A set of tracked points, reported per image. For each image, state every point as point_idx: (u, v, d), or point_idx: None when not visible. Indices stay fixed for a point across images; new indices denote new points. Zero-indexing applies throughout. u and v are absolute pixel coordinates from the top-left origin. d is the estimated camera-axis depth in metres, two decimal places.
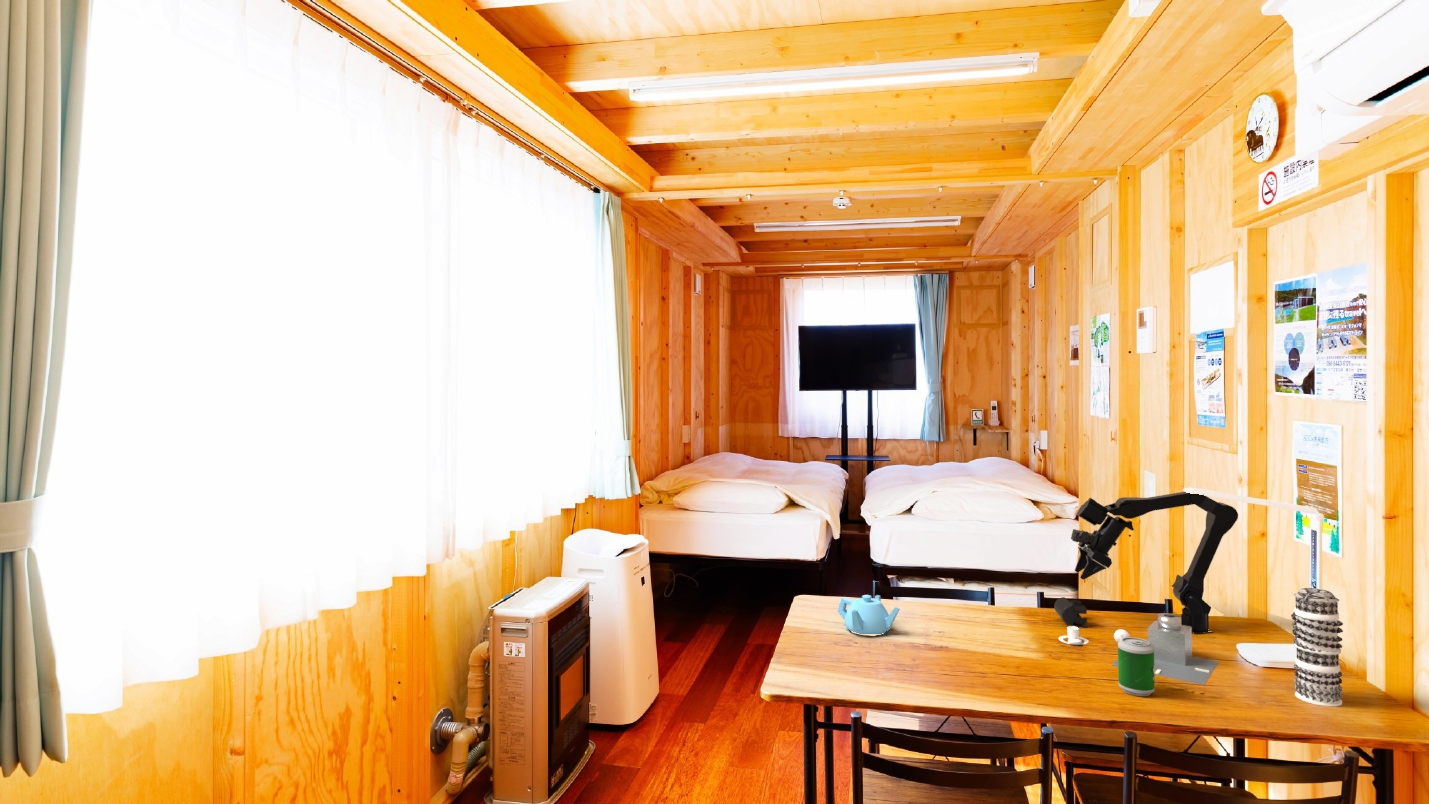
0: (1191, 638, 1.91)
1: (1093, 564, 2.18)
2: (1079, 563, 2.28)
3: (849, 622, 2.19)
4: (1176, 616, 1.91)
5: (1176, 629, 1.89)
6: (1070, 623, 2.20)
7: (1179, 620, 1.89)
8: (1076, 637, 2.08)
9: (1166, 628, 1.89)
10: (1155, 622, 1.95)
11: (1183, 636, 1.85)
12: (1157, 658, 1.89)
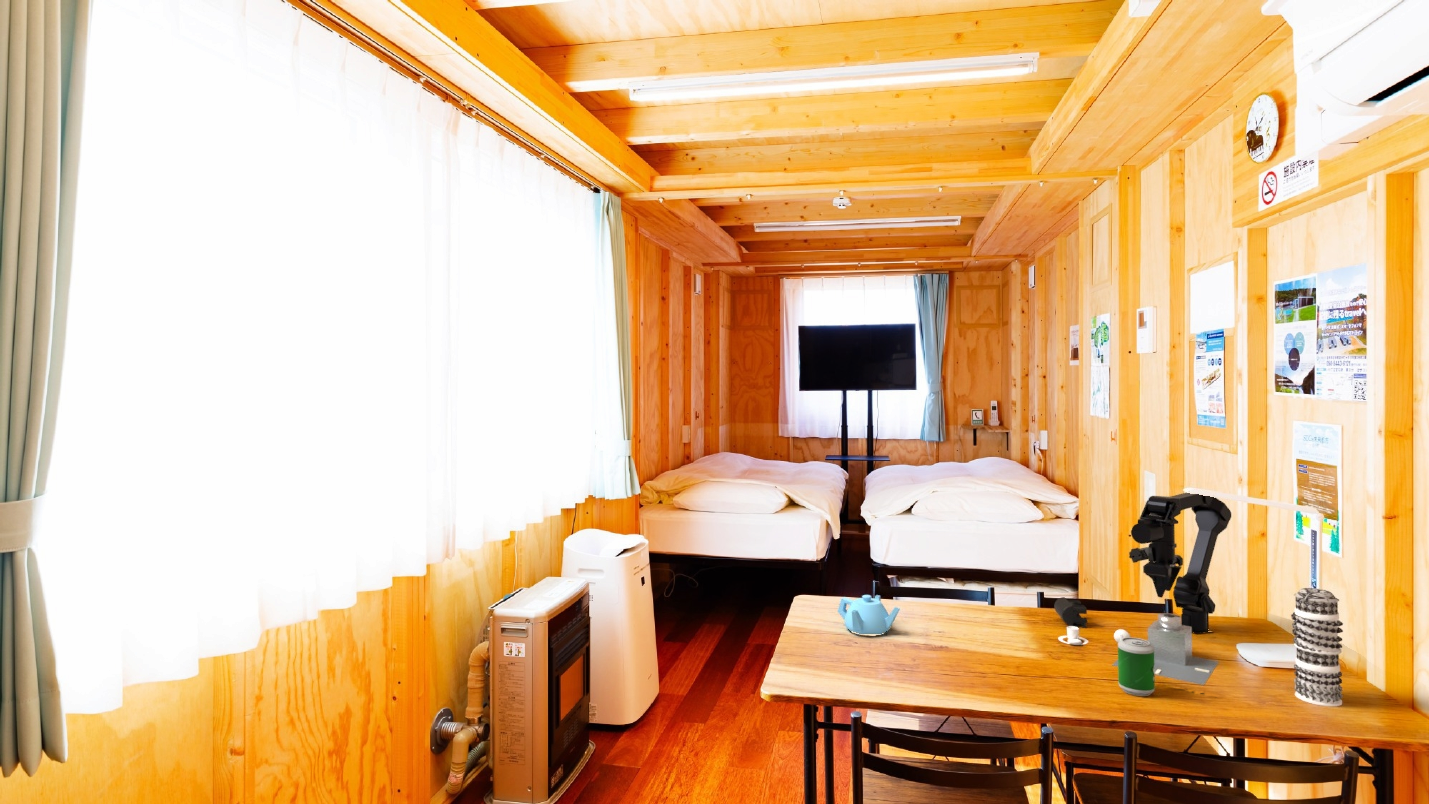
0: (1191, 638, 1.91)
1: (1158, 577, 2.04)
2: None
3: (849, 622, 2.19)
4: (1176, 616, 1.91)
5: (1176, 629, 1.89)
6: (1070, 623, 2.20)
7: (1179, 620, 1.89)
8: (1076, 637, 2.08)
9: (1166, 628, 1.89)
10: (1155, 622, 1.95)
11: (1183, 636, 1.85)
12: (1157, 658, 1.89)
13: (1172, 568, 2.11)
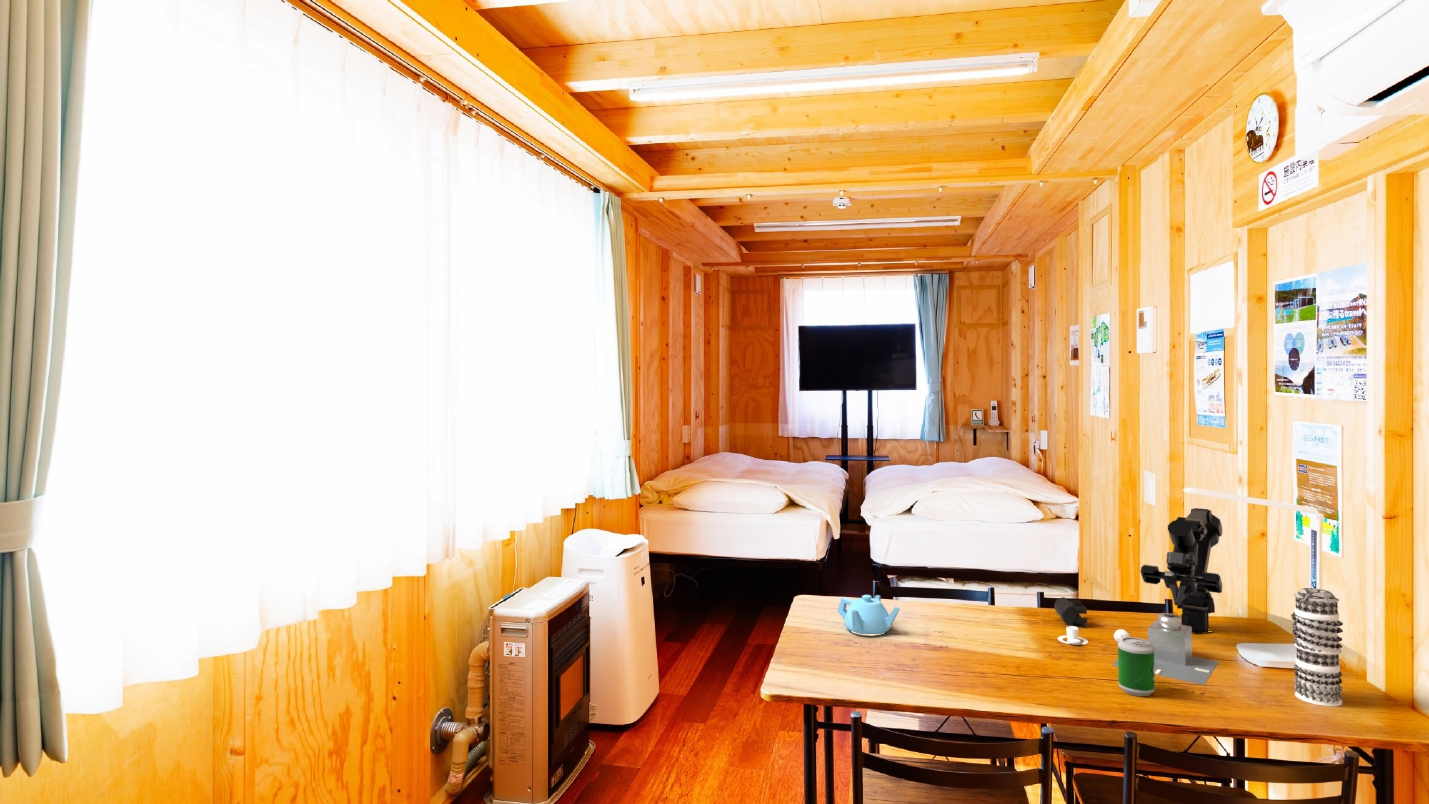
0: (1191, 638, 1.91)
1: None
2: (1175, 594, 1.99)
3: (849, 622, 2.19)
4: (1176, 616, 1.91)
5: (1176, 629, 1.89)
6: (1070, 623, 2.20)
7: (1179, 620, 1.89)
8: (1075, 637, 2.08)
9: (1166, 628, 1.89)
10: (1155, 622, 1.95)
11: (1183, 636, 1.85)
12: (1157, 658, 1.89)
13: (1177, 585, 2.02)
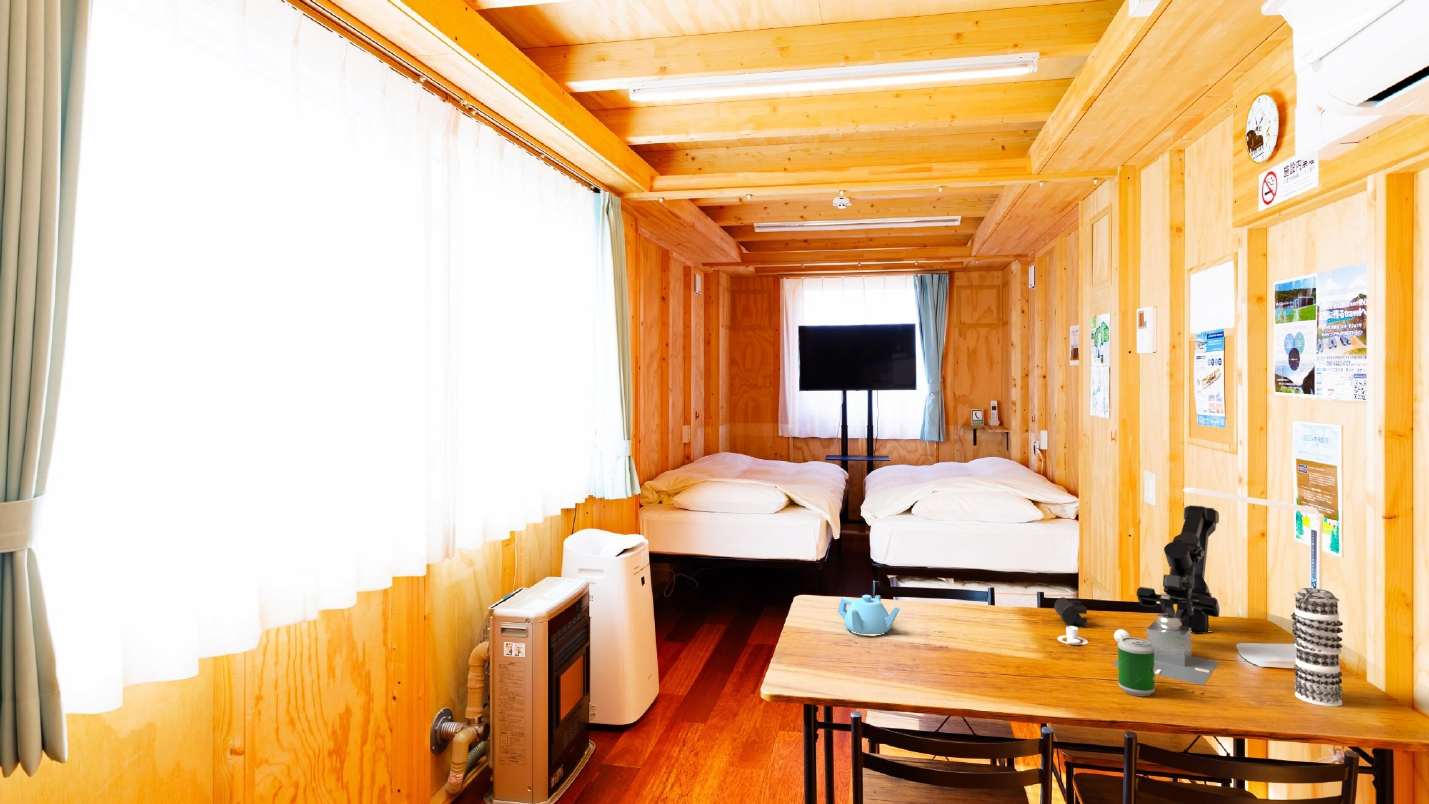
0: (1190, 639, 1.90)
1: None
2: None
3: (849, 622, 2.19)
4: (1175, 617, 1.90)
5: (1175, 630, 1.88)
6: (1070, 623, 2.20)
7: (1178, 621, 1.88)
8: (1075, 637, 2.08)
9: (1165, 629, 1.89)
10: (1154, 623, 1.95)
11: (1182, 637, 1.85)
12: (1156, 659, 1.89)
13: (1173, 609, 1.98)
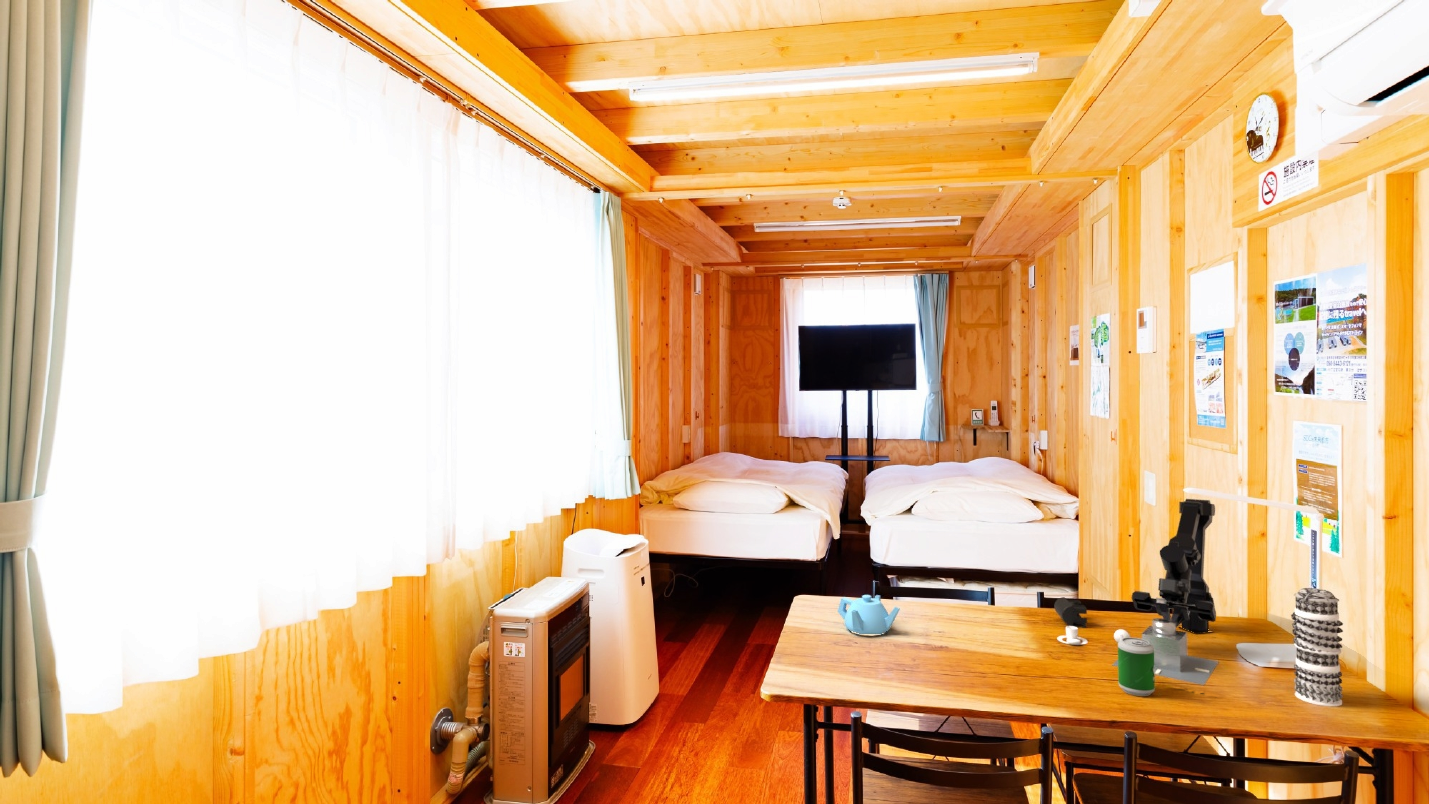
0: (1186, 644, 1.87)
1: None
2: None
3: (849, 622, 2.19)
4: (1171, 621, 1.86)
5: (1171, 635, 1.84)
6: (1070, 623, 2.20)
7: (1174, 625, 1.85)
8: (1075, 637, 2.08)
9: (1161, 634, 1.85)
10: (1150, 627, 1.91)
11: (1178, 642, 1.81)
12: None
13: (1169, 613, 1.95)
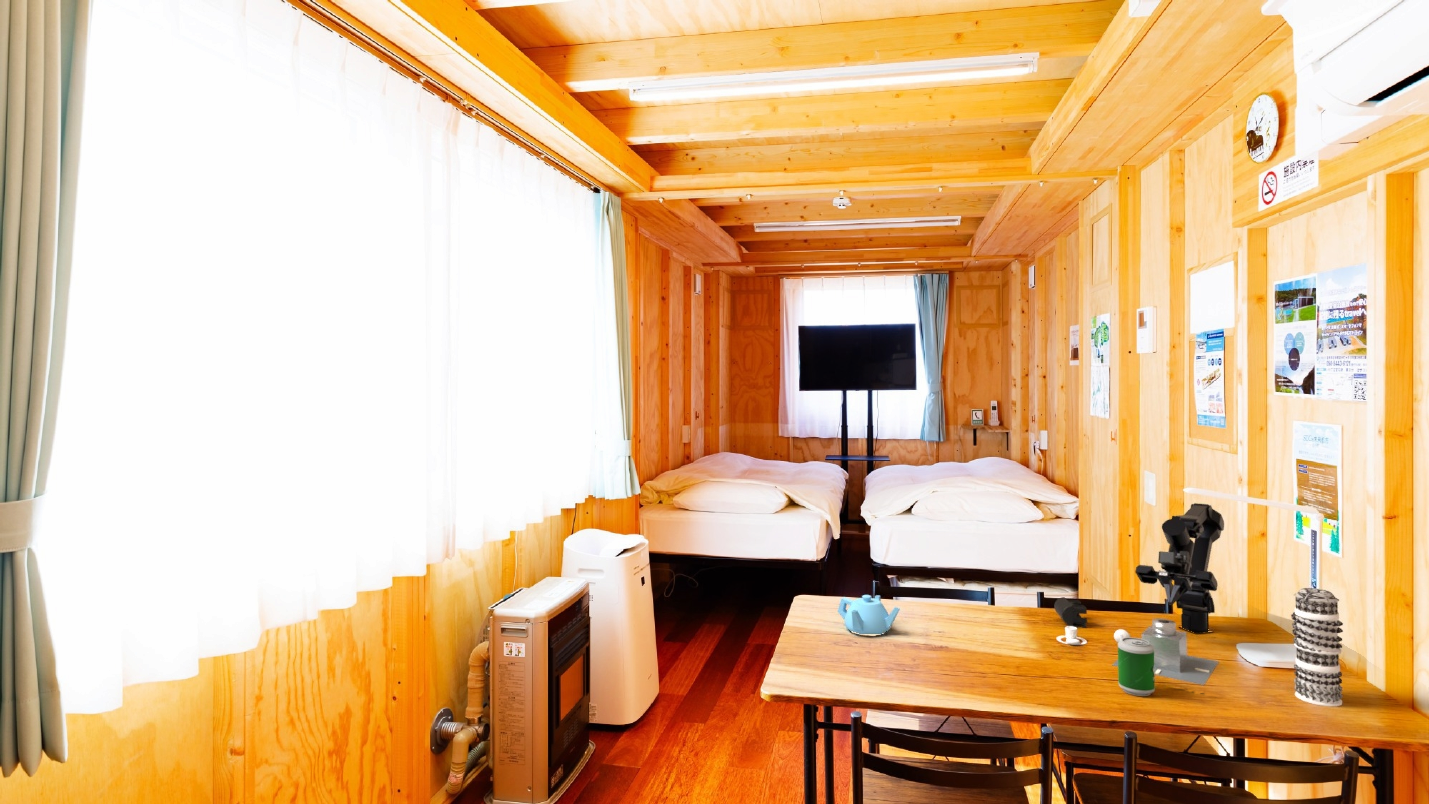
0: (1186, 644, 1.87)
1: None
2: (1170, 593, 1.98)
3: (849, 622, 2.19)
4: (1171, 622, 1.86)
5: (1171, 635, 1.84)
6: (1070, 623, 2.20)
7: (1174, 626, 1.84)
8: (1074, 637, 2.08)
9: (1160, 634, 1.85)
10: (1149, 628, 1.91)
11: (1178, 642, 1.81)
12: None
13: (1172, 585, 2.01)
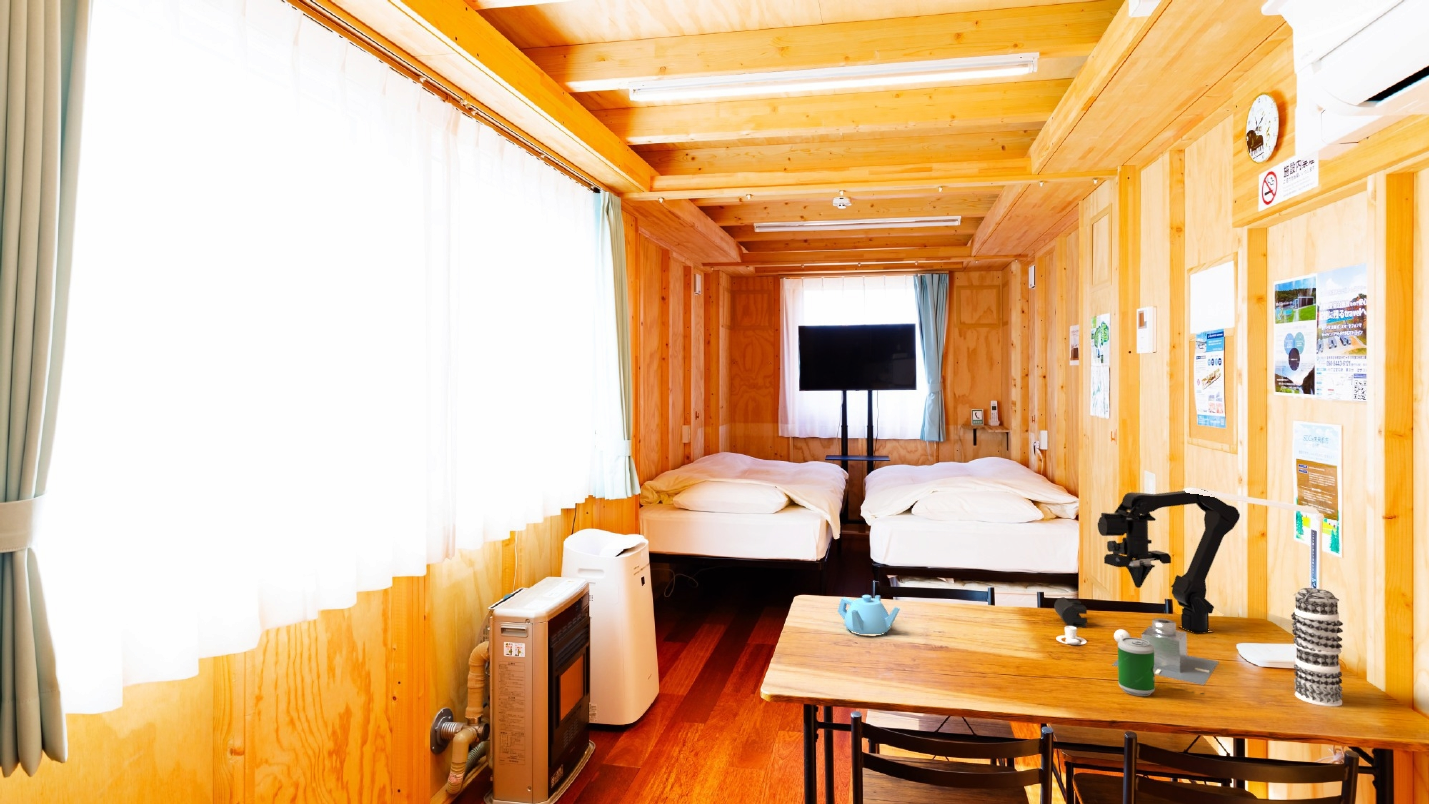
0: (1186, 644, 1.87)
1: (1133, 568, 2.15)
2: None
3: (849, 622, 2.19)
4: (1171, 622, 1.86)
5: (1171, 635, 1.84)
6: (1070, 623, 2.20)
7: (1174, 626, 1.84)
8: (1074, 637, 2.08)
9: (1160, 634, 1.85)
10: (1149, 628, 1.91)
11: (1178, 642, 1.81)
12: None
13: (1142, 566, 2.15)
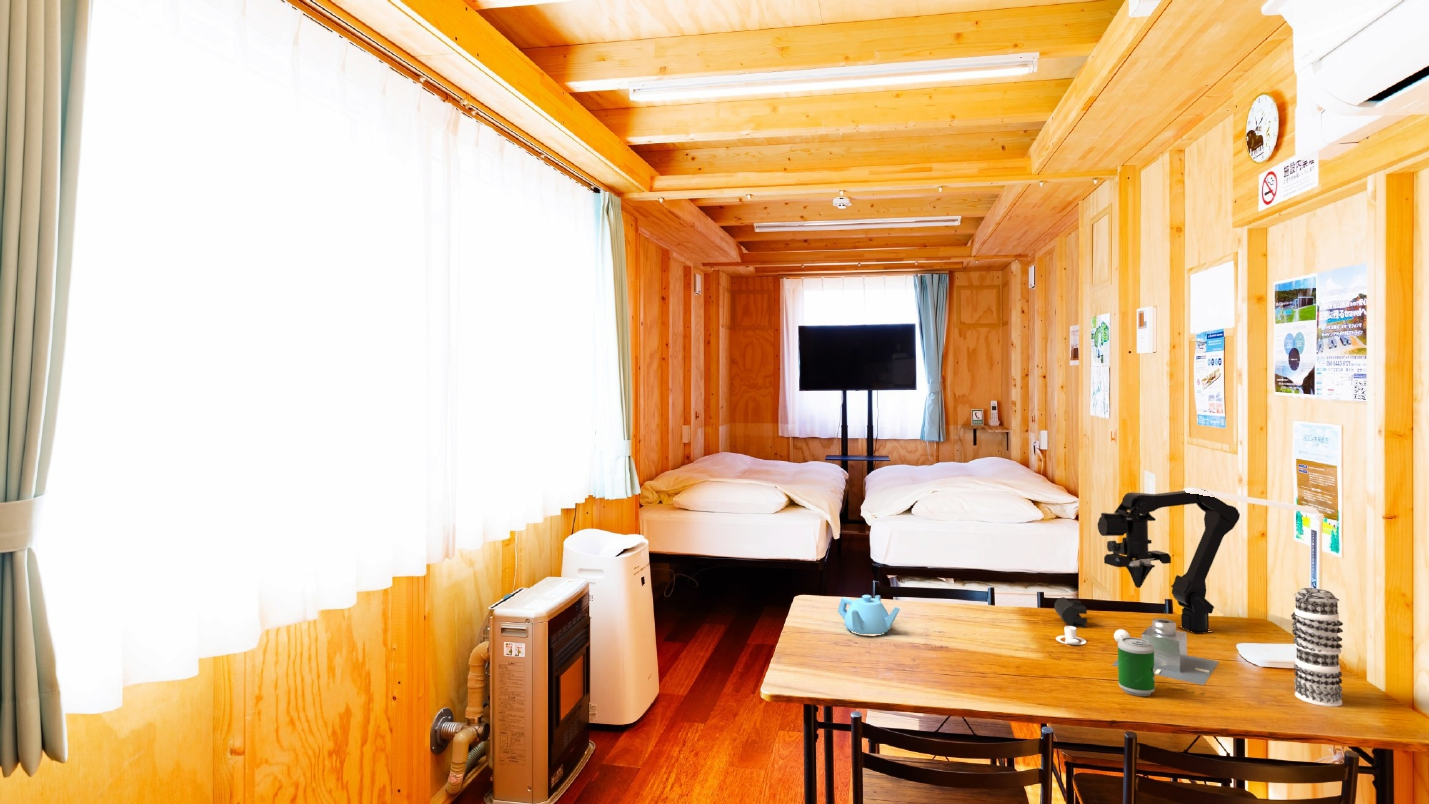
0: (1186, 644, 1.87)
1: (1133, 568, 2.15)
2: None
3: (849, 622, 2.19)
4: (1171, 622, 1.86)
5: (1171, 635, 1.84)
6: (1070, 623, 2.20)
7: (1174, 626, 1.84)
8: (1073, 637, 2.08)
9: (1160, 634, 1.85)
10: (1149, 628, 1.91)
11: (1178, 642, 1.81)
12: None
13: (1142, 566, 2.15)
